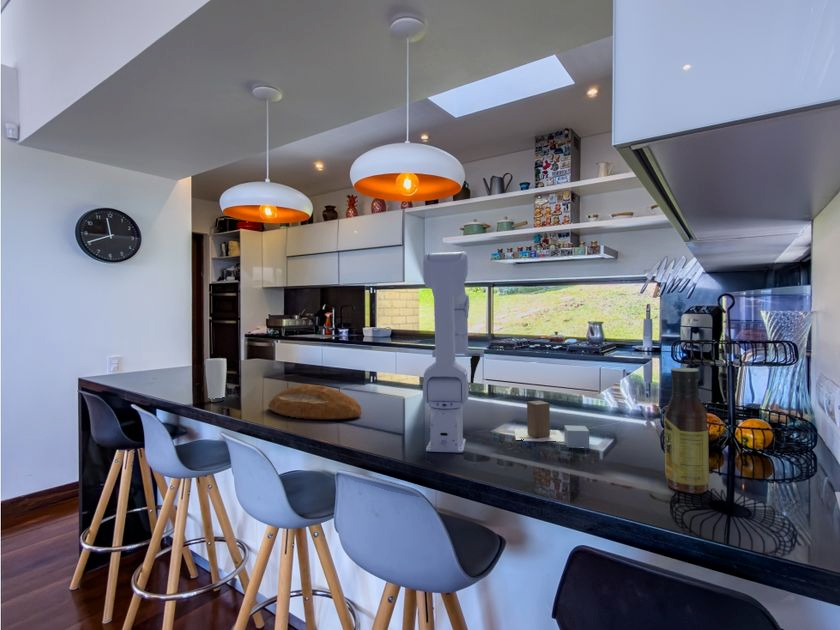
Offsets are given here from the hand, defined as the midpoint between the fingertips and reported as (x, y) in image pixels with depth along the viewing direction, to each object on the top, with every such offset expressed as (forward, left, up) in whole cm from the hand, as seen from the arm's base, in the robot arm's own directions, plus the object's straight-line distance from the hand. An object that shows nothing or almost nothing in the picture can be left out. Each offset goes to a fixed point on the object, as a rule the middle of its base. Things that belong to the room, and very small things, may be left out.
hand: (458, 382), depth 128 cm
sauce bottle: (-47, -41, -10) cm, 63 cm away
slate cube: (-24, -28, -10) cm, 38 cm away
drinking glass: (+17, +87, -10) cm, 89 cm away
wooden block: (-17, -20, -10) cm, 28 cm away
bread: (+2, +45, -11) cm, 46 cm away
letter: (-17, -20, -10) cm, 28 cm away
